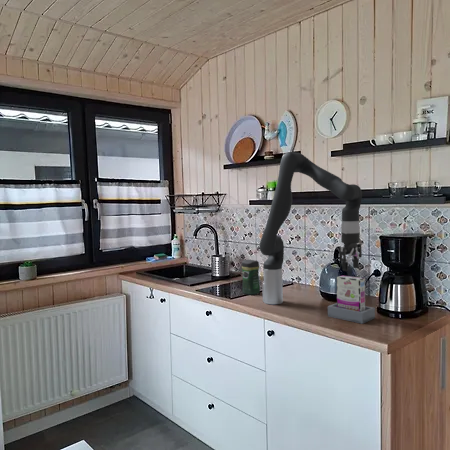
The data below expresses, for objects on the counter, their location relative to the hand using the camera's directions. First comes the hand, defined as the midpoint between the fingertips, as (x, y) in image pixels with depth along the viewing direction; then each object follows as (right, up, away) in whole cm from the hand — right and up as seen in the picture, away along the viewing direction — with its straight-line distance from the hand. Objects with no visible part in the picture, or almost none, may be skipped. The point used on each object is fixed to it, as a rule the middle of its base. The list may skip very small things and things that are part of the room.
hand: (350, 269), depth 178 cm
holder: (+1, -21, +1) cm, 21 cm away
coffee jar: (-39, -19, +51) cm, 67 cm away
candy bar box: (+1, -20, +2) cm, 20 cm away
